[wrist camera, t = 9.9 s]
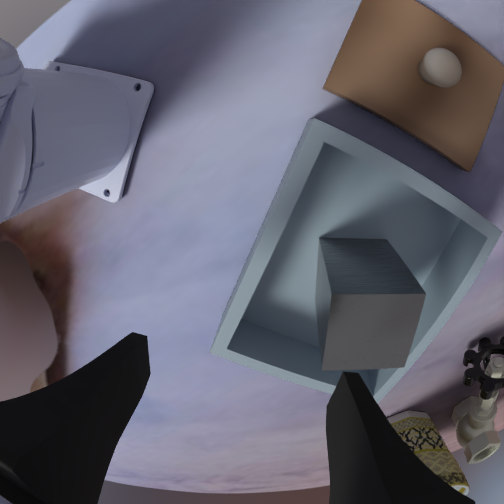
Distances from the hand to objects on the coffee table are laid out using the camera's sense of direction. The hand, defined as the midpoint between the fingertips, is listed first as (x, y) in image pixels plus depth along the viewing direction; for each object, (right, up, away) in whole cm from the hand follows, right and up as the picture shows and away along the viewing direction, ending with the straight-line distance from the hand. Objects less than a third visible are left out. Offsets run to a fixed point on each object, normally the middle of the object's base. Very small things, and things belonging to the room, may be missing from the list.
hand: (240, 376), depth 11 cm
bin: (+6, +4, +9) cm, 11 cm away
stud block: (+10, +15, +3) cm, 18 cm away
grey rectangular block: (+6, +3, +8) cm, 11 cm away
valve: (+22, -8, +12) cm, 26 cm away
